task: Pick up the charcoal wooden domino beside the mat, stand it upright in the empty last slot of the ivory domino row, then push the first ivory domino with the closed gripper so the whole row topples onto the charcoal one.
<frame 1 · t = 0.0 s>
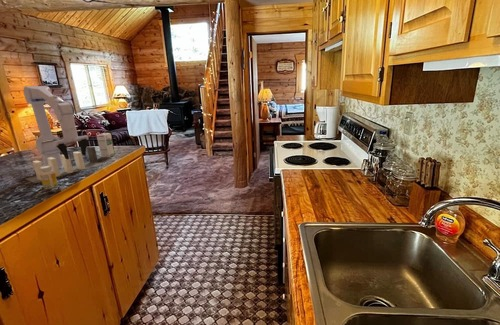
hand: (75, 156, 129), 10 cm above the countertop, tool pointing down, fingers open, 7 cm apart
domino 3: (69, 171, 138), resting on mat
supplement bottle: (51, 187, 119), on the countertop
domino 5: (94, 162, 154), resting on mat
domino 2: (56, 175, 133), resting on mat
domino 1: (42, 179, 128), resting on mat
mat: (67, 171, 140), on the countertop
domino 4: (81, 168, 143), resting on mat
syrup box: (108, 156, 167), on the countertop
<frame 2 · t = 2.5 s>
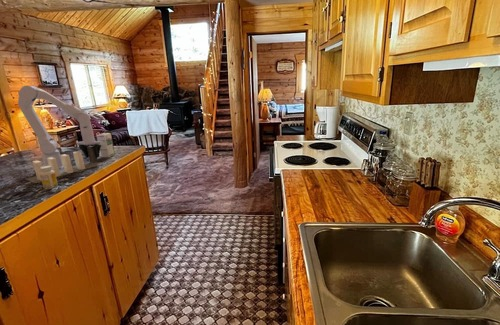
hand: (92, 157, 153), 3 cm above the countertop, tool pointing down, fingers closed on domino 5, 5 cm apart
domino 5: (94, 162, 154), resting on mat, touching gripper
everything else where it was.
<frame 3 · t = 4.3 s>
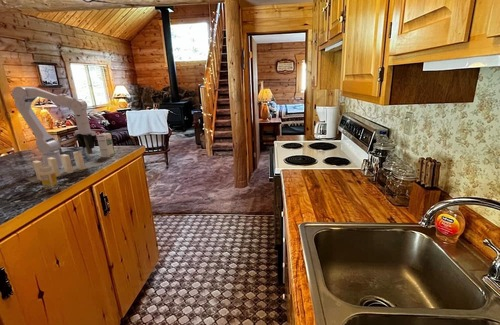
hand: (88, 147, 145), 10 cm above the countertop, tool pointing down, fingers closed on domino 5, 5 cm apart
domino 5: (89, 152, 146), point 8 cm above the countertop, touching gripper
everything else where it was.
when the fingers open (4 cm above the countertop, at t = 6.4 s): domino 5 stays where it is, resting on mat.
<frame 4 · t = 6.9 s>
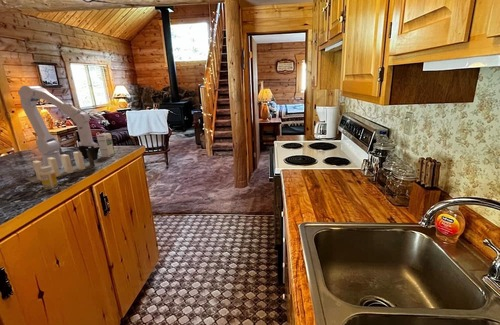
hand: (91, 159, 146), 4 cm above the countertop, tool pointing down, fingers open, 7 cm apart
domino 5: (92, 165, 148), resting on mat
everything else where it was.
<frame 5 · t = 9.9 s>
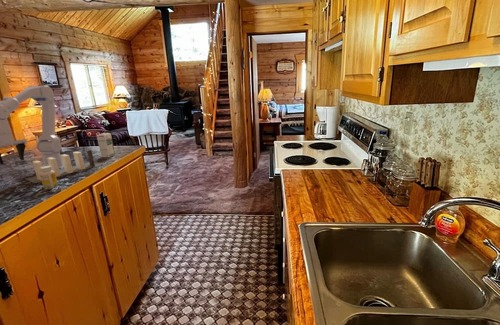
hand: (12, 161, 124), 10 cm above the countertop, tool pointing down, fingers open, 7 cm apart
nothing on the countertop moved.
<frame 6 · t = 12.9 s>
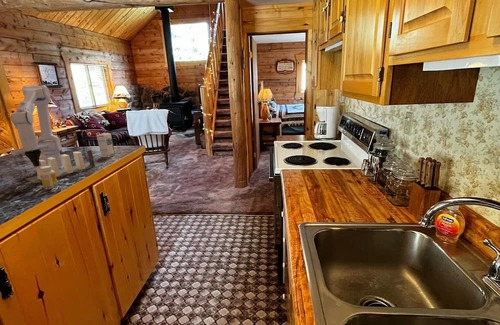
hand: (36, 166, 126), 7 cm above the countertop, tool pointing down, fingers closed
domino 1: (42, 178, 128), point 1 cm above the countertop, tilted 11°, touching mat
everything else where it was.
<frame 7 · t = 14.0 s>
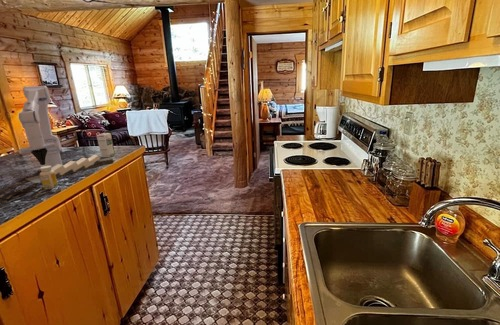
hand: (42, 164, 128), 7 cm above the countertop, tool pointing down, fingers closed
domino 3: (70, 169, 139), point 1 cm above the countertop, tilted 69°, touching domino 2, domino 4, mat
domino 5: (94, 163, 148), point 2 cm above the countertop, tilted 90°, touching domino 4, mat
domino 2: (57, 173, 134), point 1 cm above the countertop, tilted 70°, touching domino 1, domino 3, mat
domino 1: (44, 176, 129), point 1 cm above the countertop, tilted 71°, touching domino 2, mat
domino 4: (82, 166, 143), point 1 cm above the countertop, tilted 69°, touching domino 3, domino 5, mat
everything else where it was.
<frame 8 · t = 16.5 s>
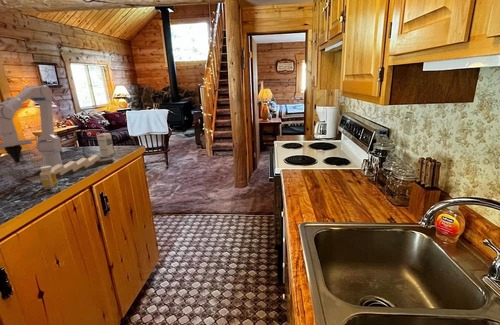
hand: (17, 162, 123), 10 cm above the countertop, tool pointing down, fingers closed
nothing on the countertop moved.
at the end: domino 5 tilted 90°; domino 5 0.4 cm from the target spot, point 1.5 cm above the countertop; domino 3 tilted 69° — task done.
